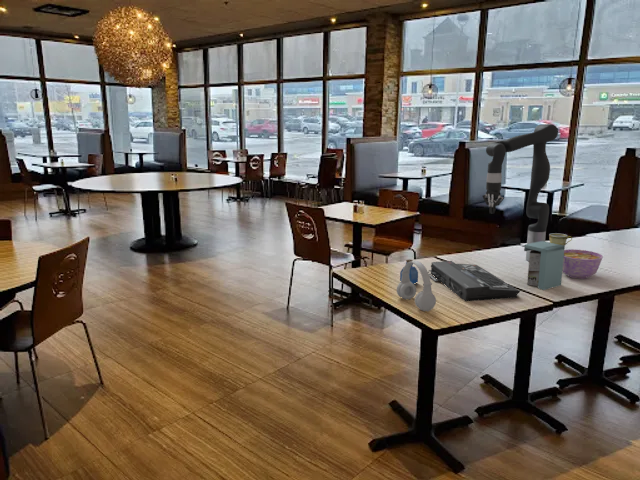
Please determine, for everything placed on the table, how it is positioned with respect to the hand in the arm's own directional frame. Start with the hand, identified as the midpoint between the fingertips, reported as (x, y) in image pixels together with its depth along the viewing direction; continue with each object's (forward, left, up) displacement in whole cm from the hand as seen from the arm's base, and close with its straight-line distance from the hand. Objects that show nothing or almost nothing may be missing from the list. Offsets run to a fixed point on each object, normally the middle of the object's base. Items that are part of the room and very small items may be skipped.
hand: (492, 213), depth 261 cm
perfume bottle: (+58, +1, -29) cm, 65 cm away
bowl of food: (-20, +39, -29) cm, 53 cm away
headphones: (+74, +24, -29) cm, 83 cm away
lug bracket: (+6, +37, -29) cm, 47 cm away
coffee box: (+7, +34, -29) cm, 45 cm away
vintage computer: (+35, +19, -30) cm, 50 cm away
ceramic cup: (-58, +3, -29) cm, 65 cm away
